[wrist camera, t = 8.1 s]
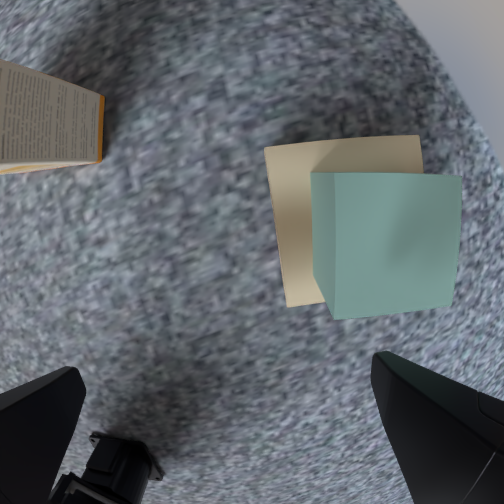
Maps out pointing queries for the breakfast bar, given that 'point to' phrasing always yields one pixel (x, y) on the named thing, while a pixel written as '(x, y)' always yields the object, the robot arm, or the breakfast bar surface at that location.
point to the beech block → (299, 194)
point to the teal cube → (385, 241)
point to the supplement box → (46, 121)
